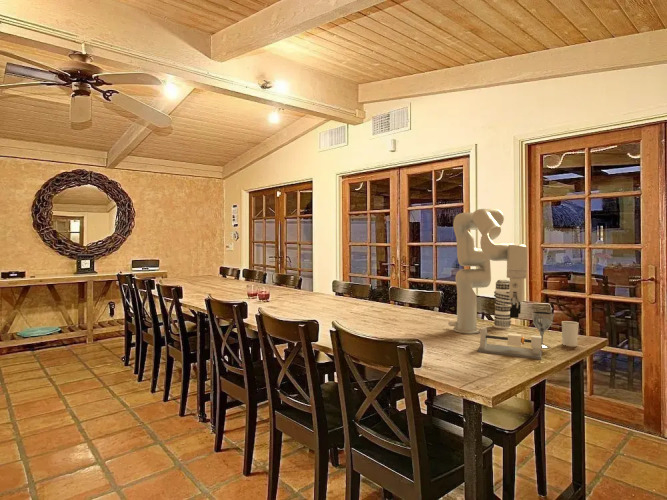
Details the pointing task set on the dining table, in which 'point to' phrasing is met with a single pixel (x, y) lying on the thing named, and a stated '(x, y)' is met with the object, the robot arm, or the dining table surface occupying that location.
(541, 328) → the wine glass
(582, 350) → the dining table surface
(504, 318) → the decorative candle
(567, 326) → the beige cup
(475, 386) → the dining table surface
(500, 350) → the board
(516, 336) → the sleeve
